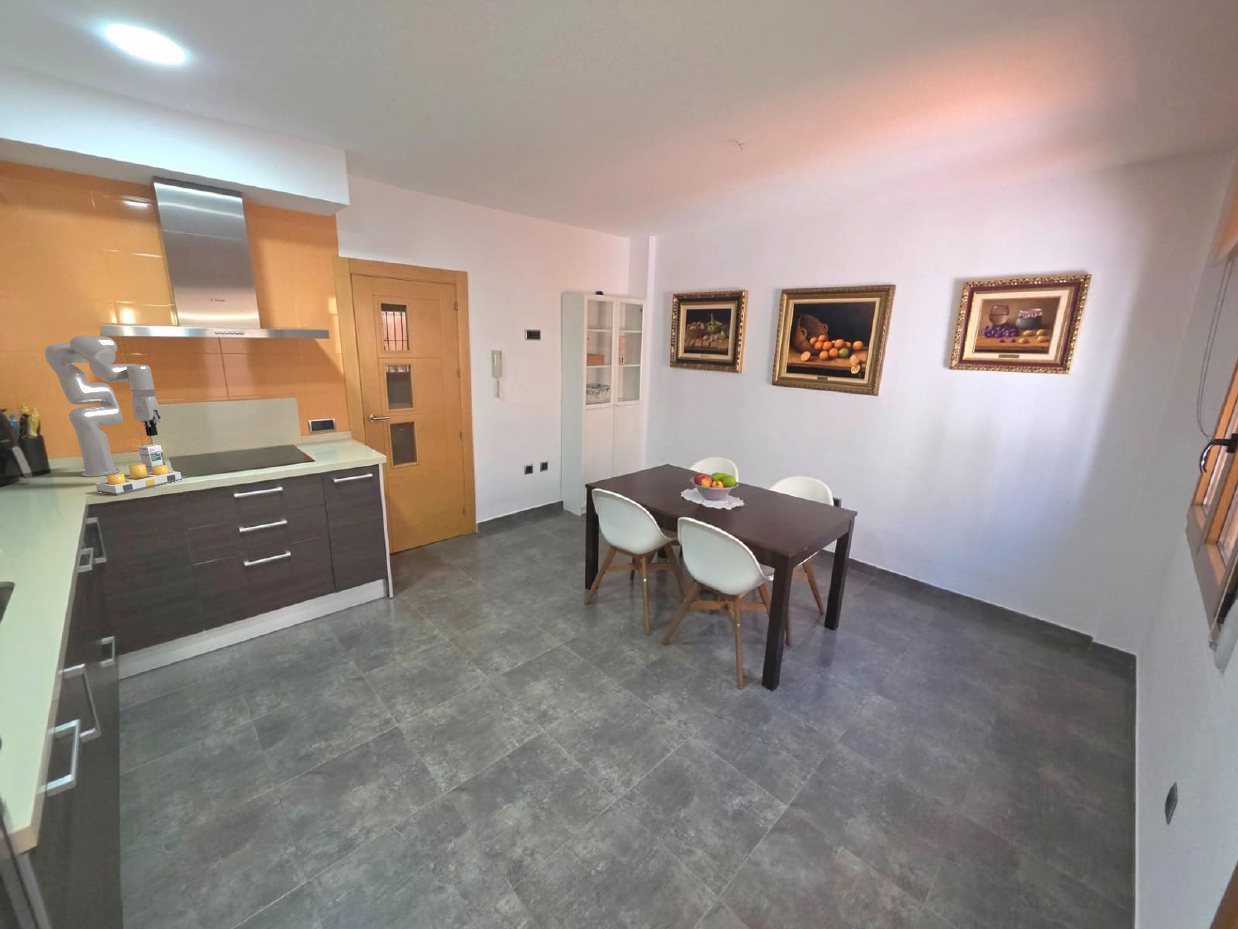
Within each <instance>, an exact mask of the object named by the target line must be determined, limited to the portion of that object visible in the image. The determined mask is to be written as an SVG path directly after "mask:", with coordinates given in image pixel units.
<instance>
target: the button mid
mask: <svg viewBox="0 0 1238 929" xmlns="http://www.w3.org/2000/svg"><path fill="white" fill-rule="evenodd" d="M128 469H129V474H130V476H131V479H132V480H140V479H144V478H148V475H147V470H146V466H145V464H142V463H137V464H136V463H135V464H130V465H128Z"/></svg>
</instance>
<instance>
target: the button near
mask: <svg viewBox="0 0 1238 929" xmlns="http://www.w3.org/2000/svg"><path fill="white" fill-rule="evenodd" d="M106 479H107V481H108V484H109V485H116V484H121V483H125V482H126V480H125V474H124V473H122V472H121V473H120V472H118V473H114V474H110V475H106Z"/></svg>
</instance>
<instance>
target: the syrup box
mask: <svg viewBox="0 0 1238 929" xmlns="http://www.w3.org/2000/svg"><path fill="white" fill-rule="evenodd" d="M137 448H138V453H139V457H140V461H141V464H145V466H146V470H147V473H149V472H152V466H157V465H166V462H165V458H164V454H163V453H164V452H163V448H162V444H148V445H143V446H139V447H137Z"/></svg>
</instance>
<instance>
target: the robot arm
mask: <svg viewBox="0 0 1238 929" xmlns="http://www.w3.org/2000/svg"><path fill="white" fill-rule="evenodd" d="M117 352H118V345H117V343H116V342H115V340H114V339H112V338H111V337H109V336H106V335H78V336H75V337H73V338H71V339H70V341H69V343H55V344H50V345H48V346H47V347H46V348H45V350H44V354H45V355H44V356H45V359H46V361H47V364H48V366H50V368H51V369H52V370H53V372H55V374H56V376H57V377H58V381H59V384H60V386H61V388H62V391H63V394H64V396H65V398H66V400H67V401H68V402H69V403H70V404H72V405H87V404H88V405H90V404H91V405H92V404H93V405H94V404H99V405H94V406H84V407H82V406H81V407H77V408H74V409H71V411H70V412H68V418H69V421H70V423H71V424H72V425H71V426H72V427H73V429H74V432H75V434H76V437H77V441H78V444H79V448H80V449H79V450H80V453H81V456H82V461H83V464H84V465H83V468H84V470H85V471H83V472H82V473H81V476H82V477H89V478H91V477H92V478H93V477H101V476H102V477H103V476H107V475H111V474H118V473H120V472H121V469H120V468H118V467H115V463H114V459H113V455H112V451H111V445H110V443H109V442H110V441H109V438H108V436H107V434H106V433H105V432H104V431H103V430H101V429H100V428H101V427H107V426H108V427H109V426H114V425H119V424H121V423H122V422H123V420H124V418H123V417H124V416H123V412H122V409H121V407H120V405H119V402H118V399H117V396H116V394H115V391H114V389H113V388H112V387H111V385H109V384H107V383H120V382H121V383H122V382H129V387H130V392H131V393H130V394H131V396H132V397H131V404H132V412H133V417H134V419H135V420H137V421H139V422H141V423H142V424H143V426H144V428H145V429H144V430H145V433H146V436H147V437H154V436H158V430H157V426H158V425H157V424H159V423H160V420H161V419H162V413H161V409H160V406H159V405H160V404H159V403H158V400H157V393H156V390H155V384H154V383H155V382H154V379H153V374H152V369H151V367H150V366H149V365H148V364H147V365H146V364H138V363H114V362H115V361H116V359H117V358H116V353H117ZM74 363H75V364H78V363H79V364H81V363H88V365H89V368H90V371H91V373H93V374H94V376H96V377H98V378H99V379H101V380H103V381H105V382H107V383H104V382H100V381H99V382H89V381H88V379H87V377H86V374H85V372H84V371H82V369H80V368H79V367H78V366H76V365H75V364H74Z"/></svg>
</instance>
